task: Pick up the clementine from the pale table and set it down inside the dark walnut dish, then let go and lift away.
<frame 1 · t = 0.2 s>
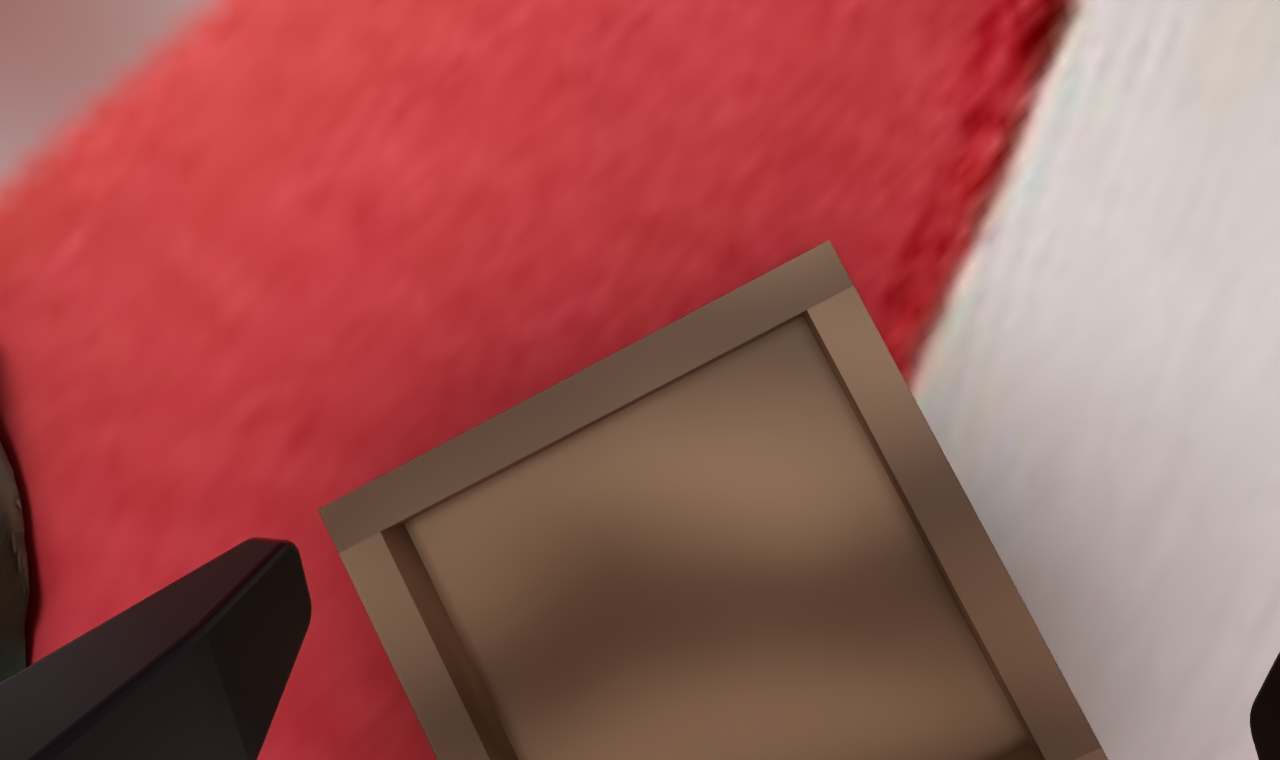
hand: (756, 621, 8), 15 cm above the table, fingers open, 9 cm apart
walnut dish: (704, 622, 23), on the table
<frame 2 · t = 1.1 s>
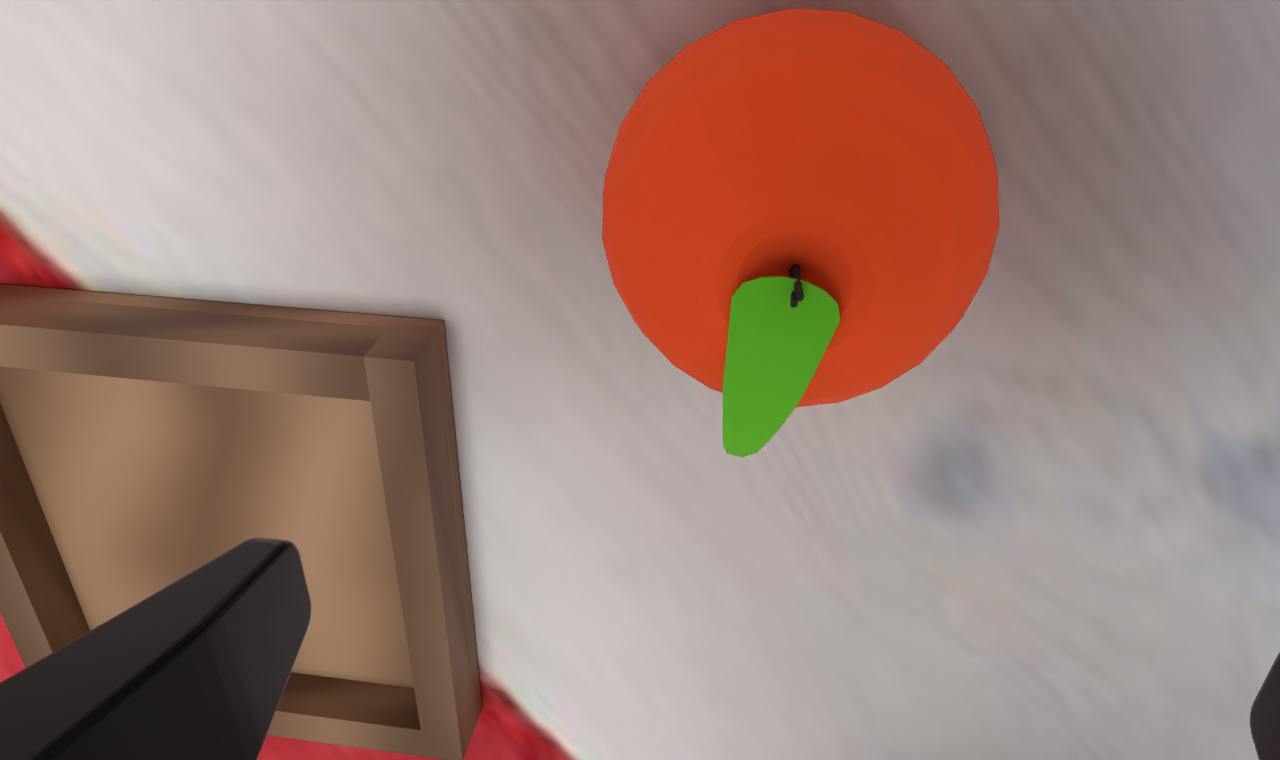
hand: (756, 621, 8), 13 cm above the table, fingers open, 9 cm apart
clementine: (786, 180, 20), on the table
walnut dish: (235, 514, 27), on the table
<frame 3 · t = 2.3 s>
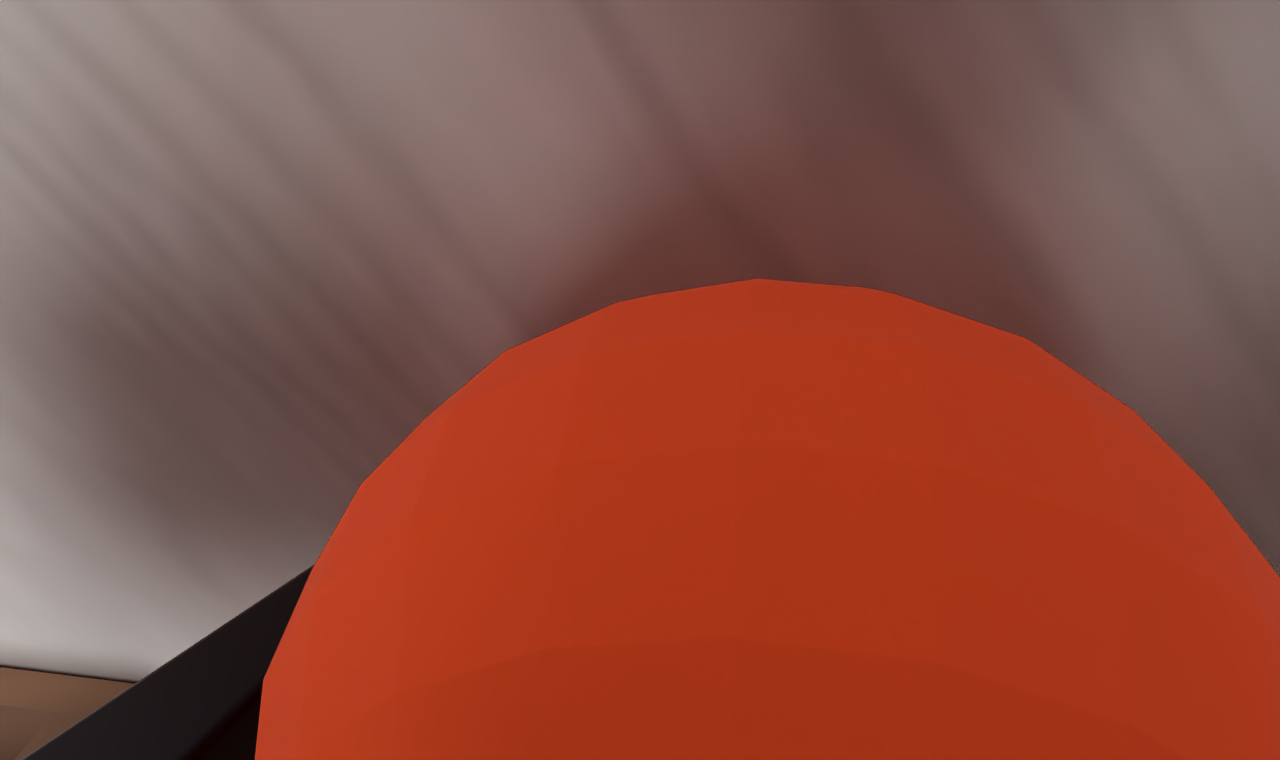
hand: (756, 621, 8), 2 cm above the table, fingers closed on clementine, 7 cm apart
clementine: (759, 502, 10), on the table, touching gripper
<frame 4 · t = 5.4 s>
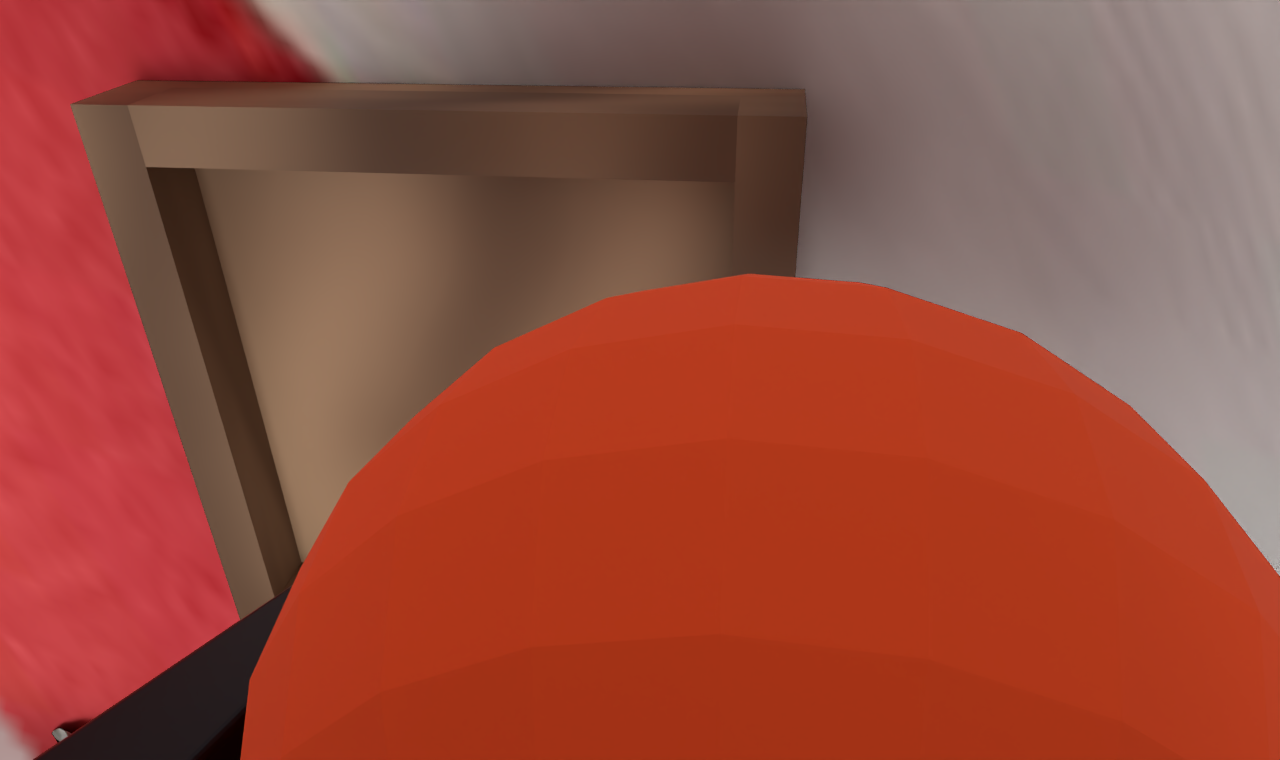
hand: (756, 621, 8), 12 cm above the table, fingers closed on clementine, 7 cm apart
clementine: (755, 500, 10), point 10 cm above the table, touching gripper
walnut dish: (489, 382, 22), on the table
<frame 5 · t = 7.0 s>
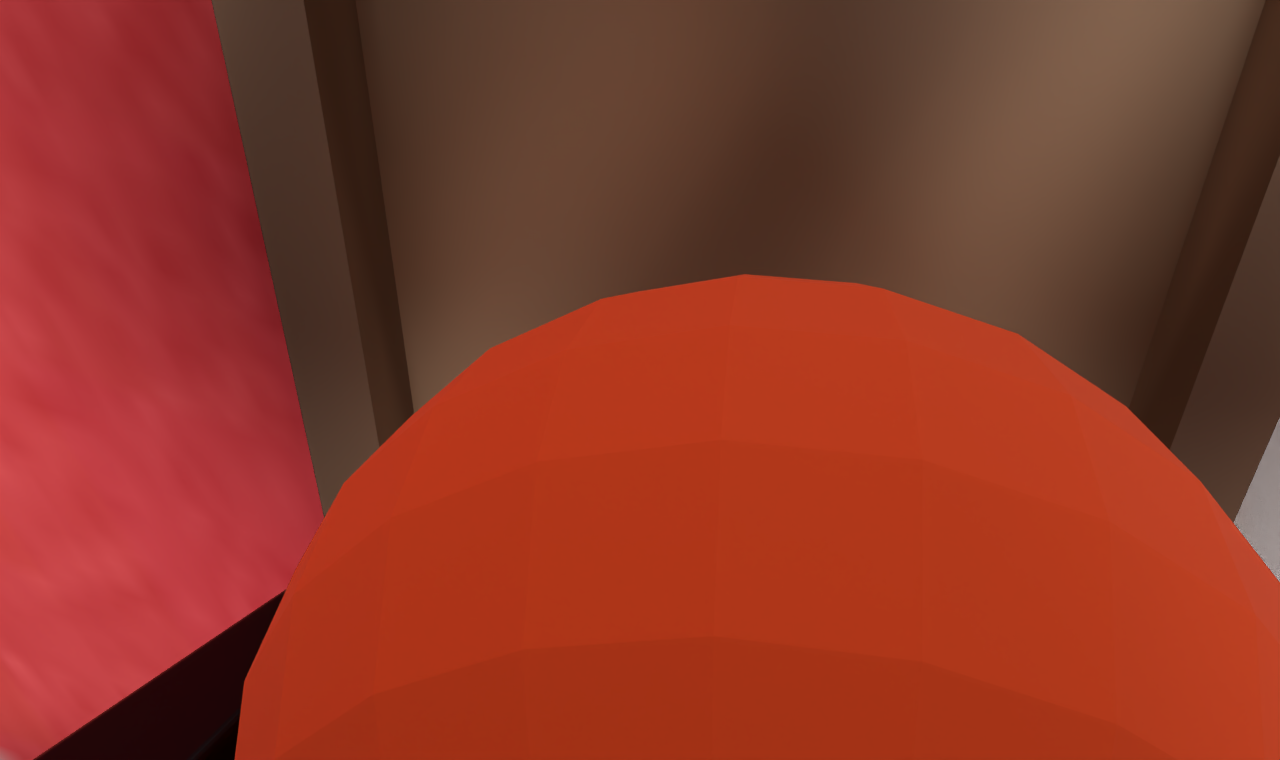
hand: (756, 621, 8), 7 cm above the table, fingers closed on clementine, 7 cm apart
clementine: (752, 501, 10), point 5 cm above the table, touching gripper
walnut dish: (758, 292, 14), on the table
when the fingers open (4 cm above the table, at t = 8.2 s): clementine drops 1 cm, resting on walnut dish.
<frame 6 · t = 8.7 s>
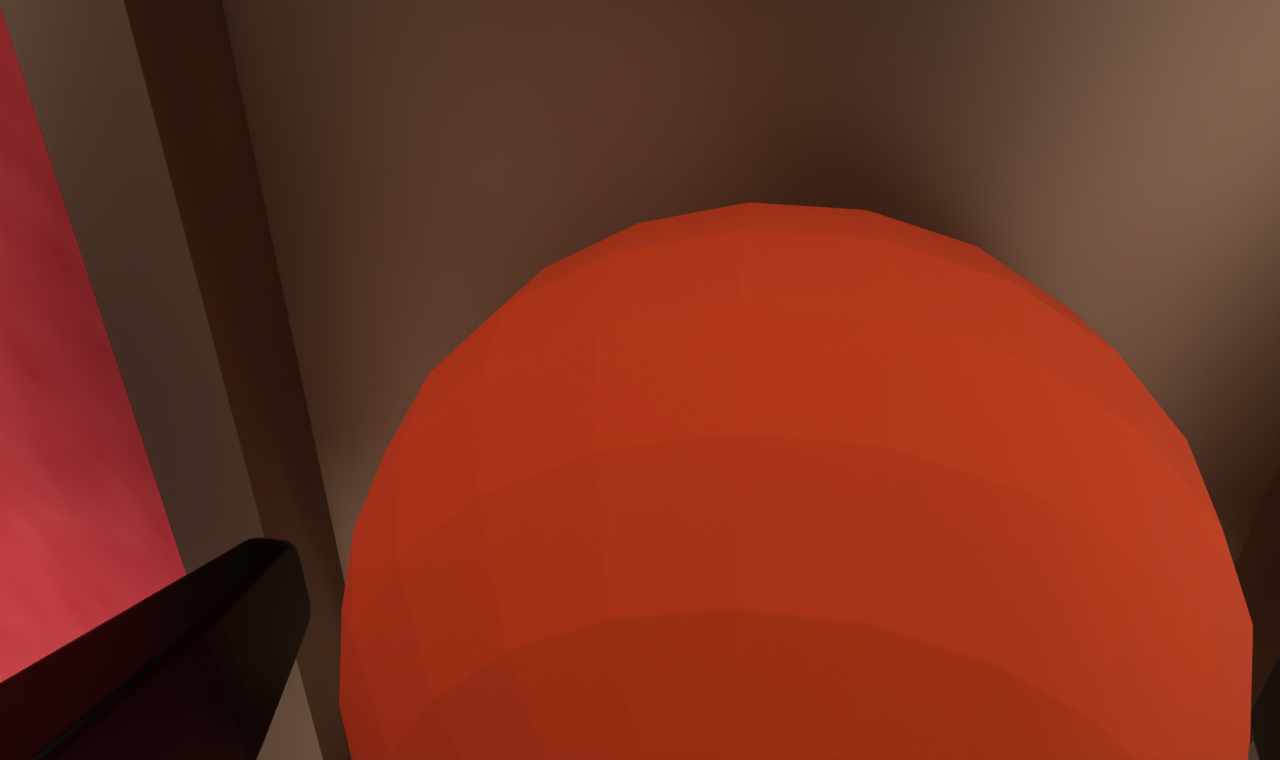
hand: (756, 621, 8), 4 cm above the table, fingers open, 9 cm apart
clementine: (761, 429, 11), resting on walnut dish
walnut dish: (761, 413, 11), on the table
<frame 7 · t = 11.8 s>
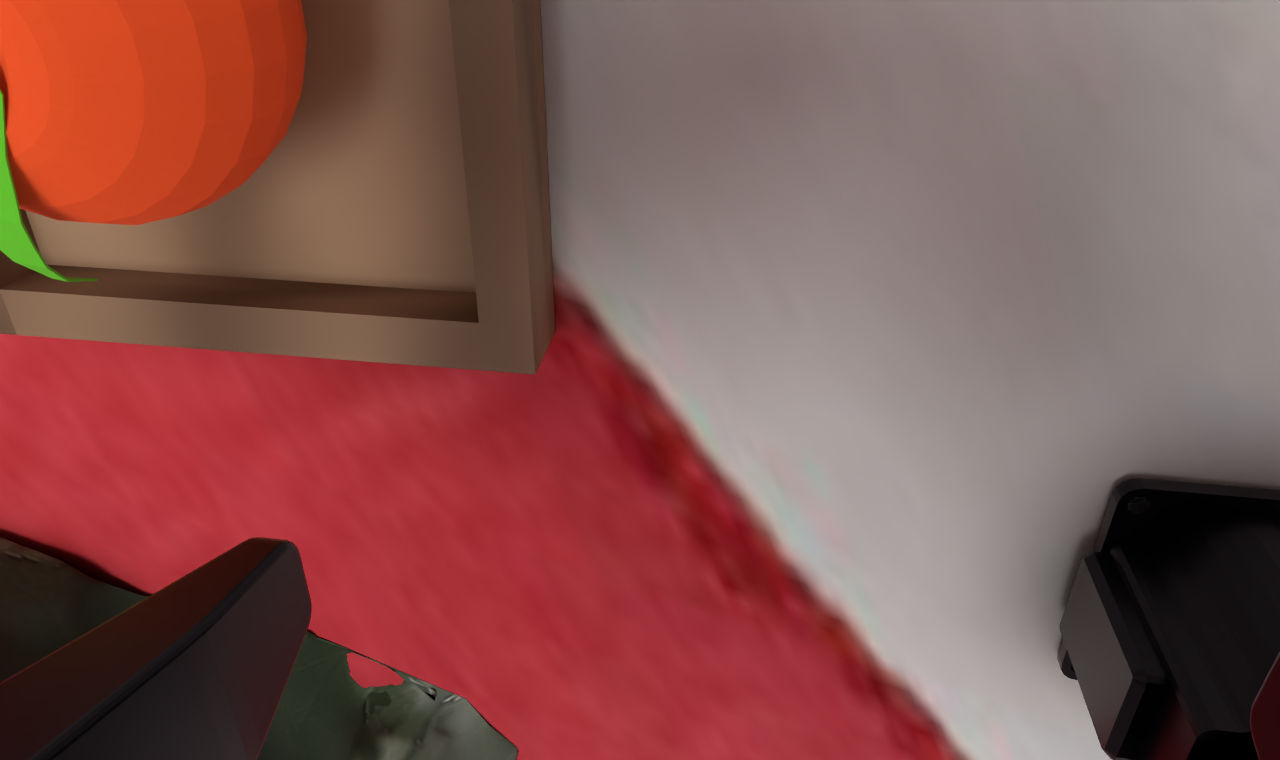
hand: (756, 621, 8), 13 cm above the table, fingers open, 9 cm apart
clementine: (212, 21, 19), resting on walnut dish
walnut dish: (222, 19, 19), on the table
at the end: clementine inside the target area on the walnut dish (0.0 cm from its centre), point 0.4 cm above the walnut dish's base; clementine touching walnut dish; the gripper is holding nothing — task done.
